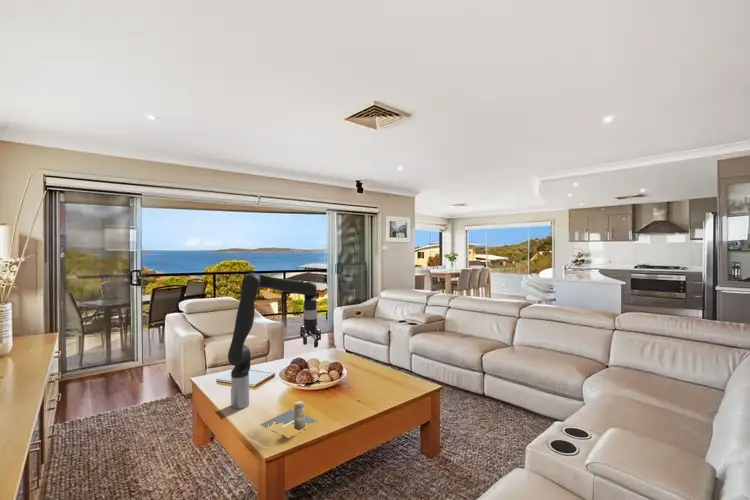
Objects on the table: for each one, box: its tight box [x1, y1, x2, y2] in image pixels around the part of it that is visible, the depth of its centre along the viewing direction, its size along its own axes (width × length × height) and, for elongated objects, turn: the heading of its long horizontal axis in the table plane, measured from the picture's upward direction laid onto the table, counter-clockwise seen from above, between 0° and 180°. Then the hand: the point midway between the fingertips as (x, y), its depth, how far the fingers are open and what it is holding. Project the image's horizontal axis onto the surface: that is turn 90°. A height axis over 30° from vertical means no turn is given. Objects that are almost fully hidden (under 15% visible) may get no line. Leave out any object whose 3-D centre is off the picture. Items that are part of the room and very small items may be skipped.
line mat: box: [259, 409, 318, 429], centre depth 188 cm, size 22×20×1 cm
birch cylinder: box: [293, 400, 305, 430], centre depth 184 cm, size 5×5×12 cm
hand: (310, 346), depth 209 cm, fingers open, 8 cm apart
